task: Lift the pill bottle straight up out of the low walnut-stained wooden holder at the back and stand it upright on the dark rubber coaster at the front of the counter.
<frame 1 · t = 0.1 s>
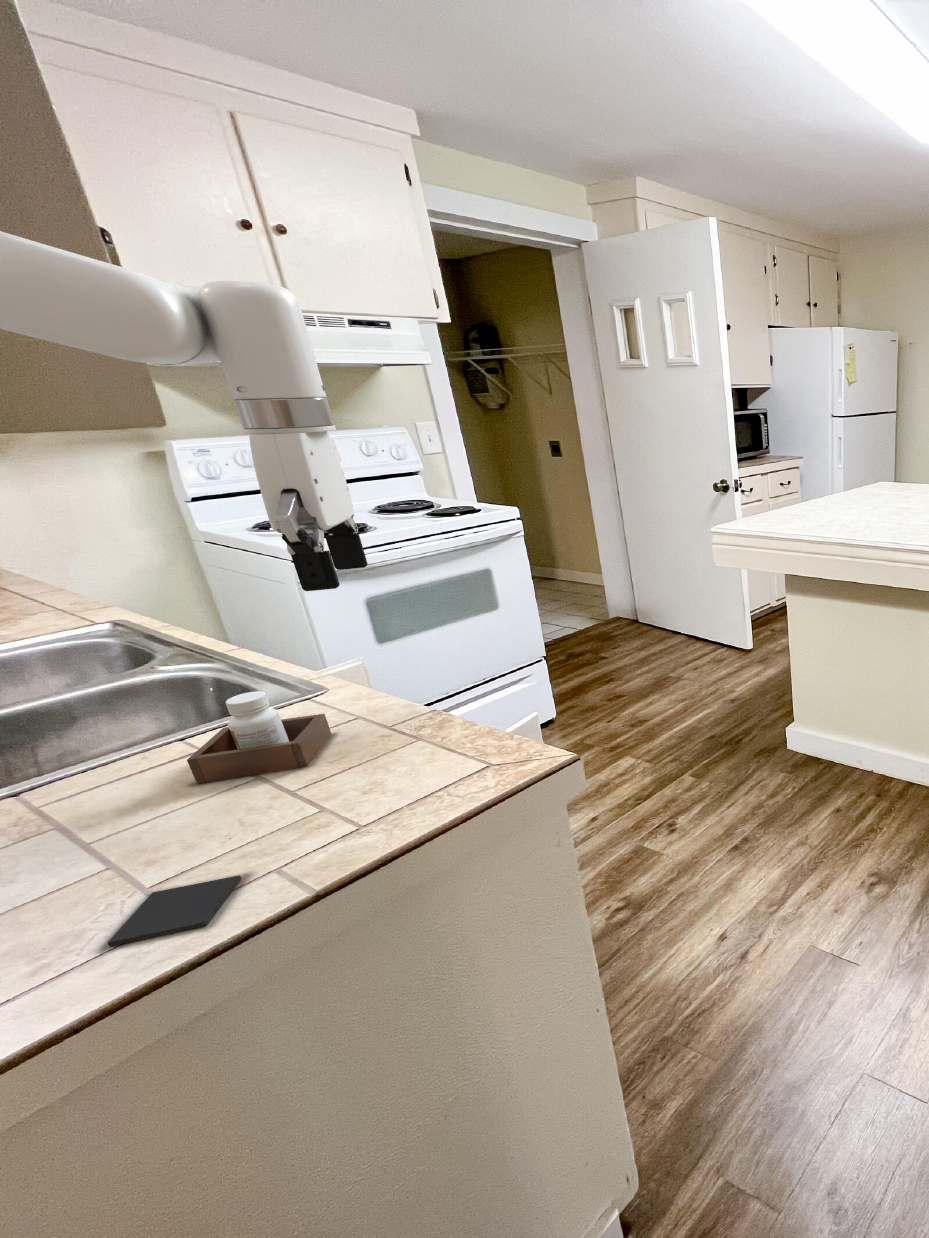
hand: (337, 578, 77), 20 cm above the counter, tool pointing down, fingers open, 9 cm apart
coaster: (179, 910, 56), on the counter
pill bottle: (269, 759, 79), resting in holder
holder: (268, 757, 79), on the counter
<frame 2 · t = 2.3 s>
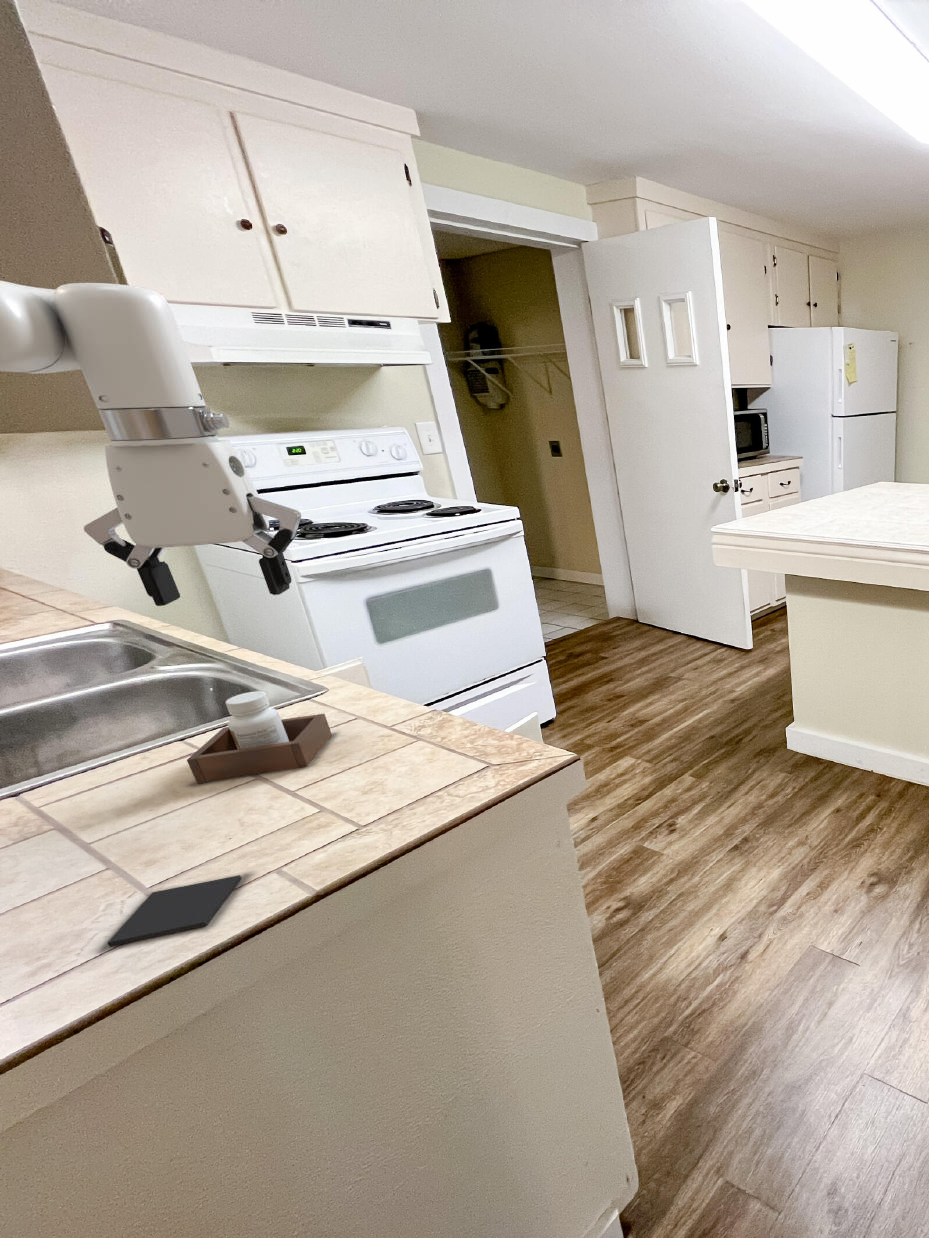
hand: (226, 596, 73), 19 cm above the counter, tool pointing down, fingers open, 9 cm apart
nothing on the counter moved.
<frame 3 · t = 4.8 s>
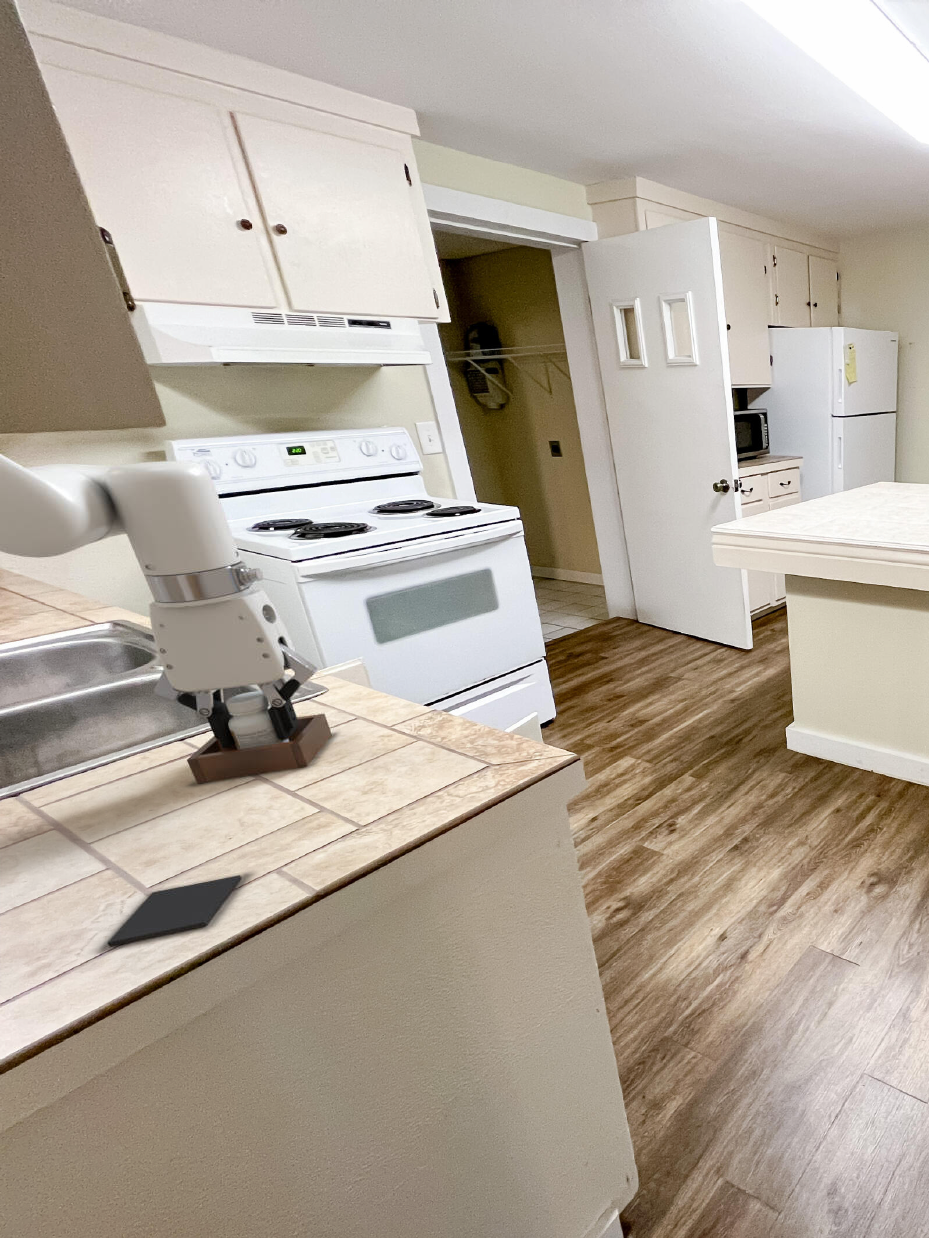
hand: (260, 737, 78), 3 cm above the counter, tool pointing down, fingers closed on pill bottle, 4 cm apart
pill bottle: (269, 759, 79), resting in holder, touching gripper
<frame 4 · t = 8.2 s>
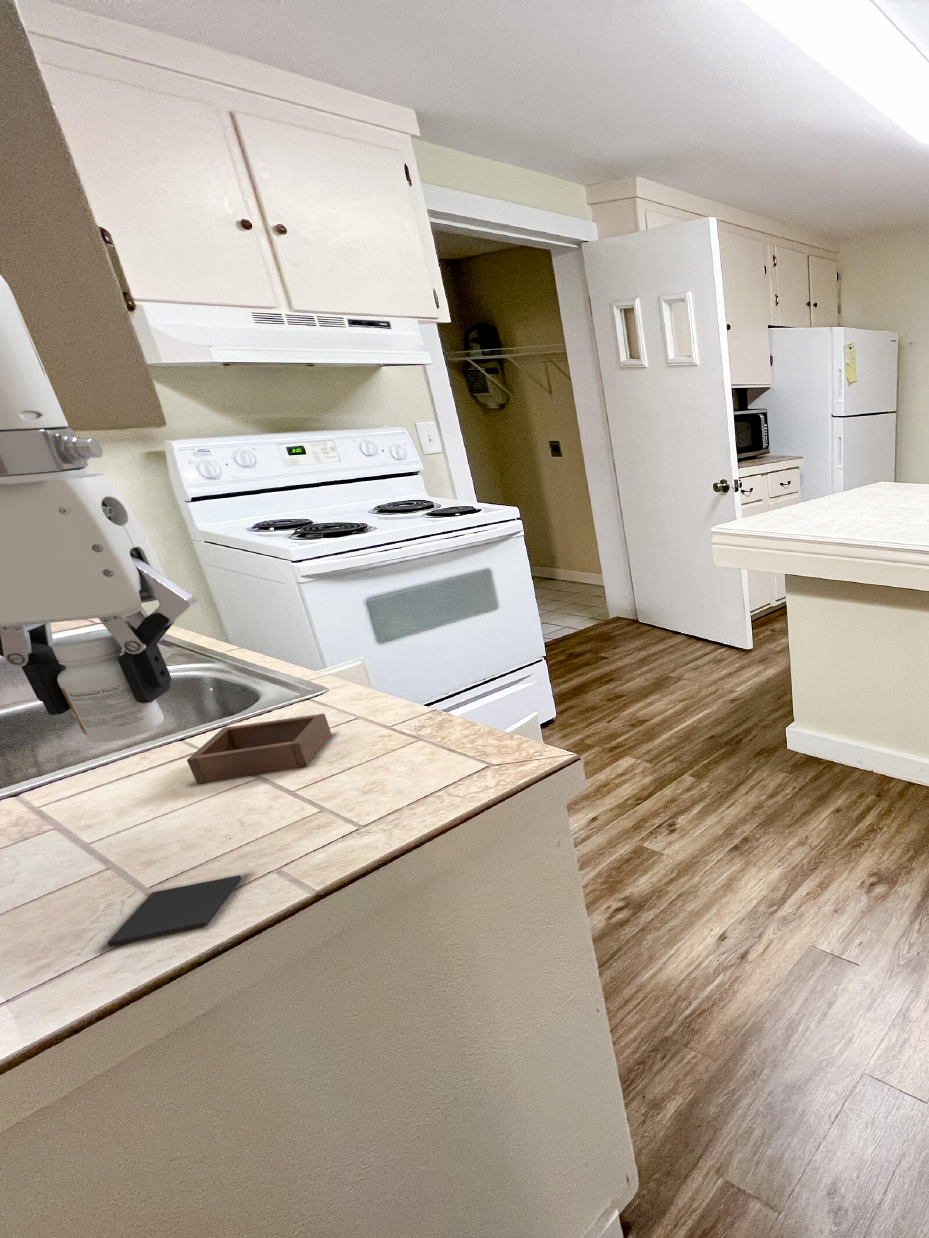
hand: (112, 699, 53), 17 cm above the counter, tool pointing down, fingers closed on pill bottle, 4 cm apart
pill bottle: (128, 732, 54), point 14 cm above the counter, touching gripper
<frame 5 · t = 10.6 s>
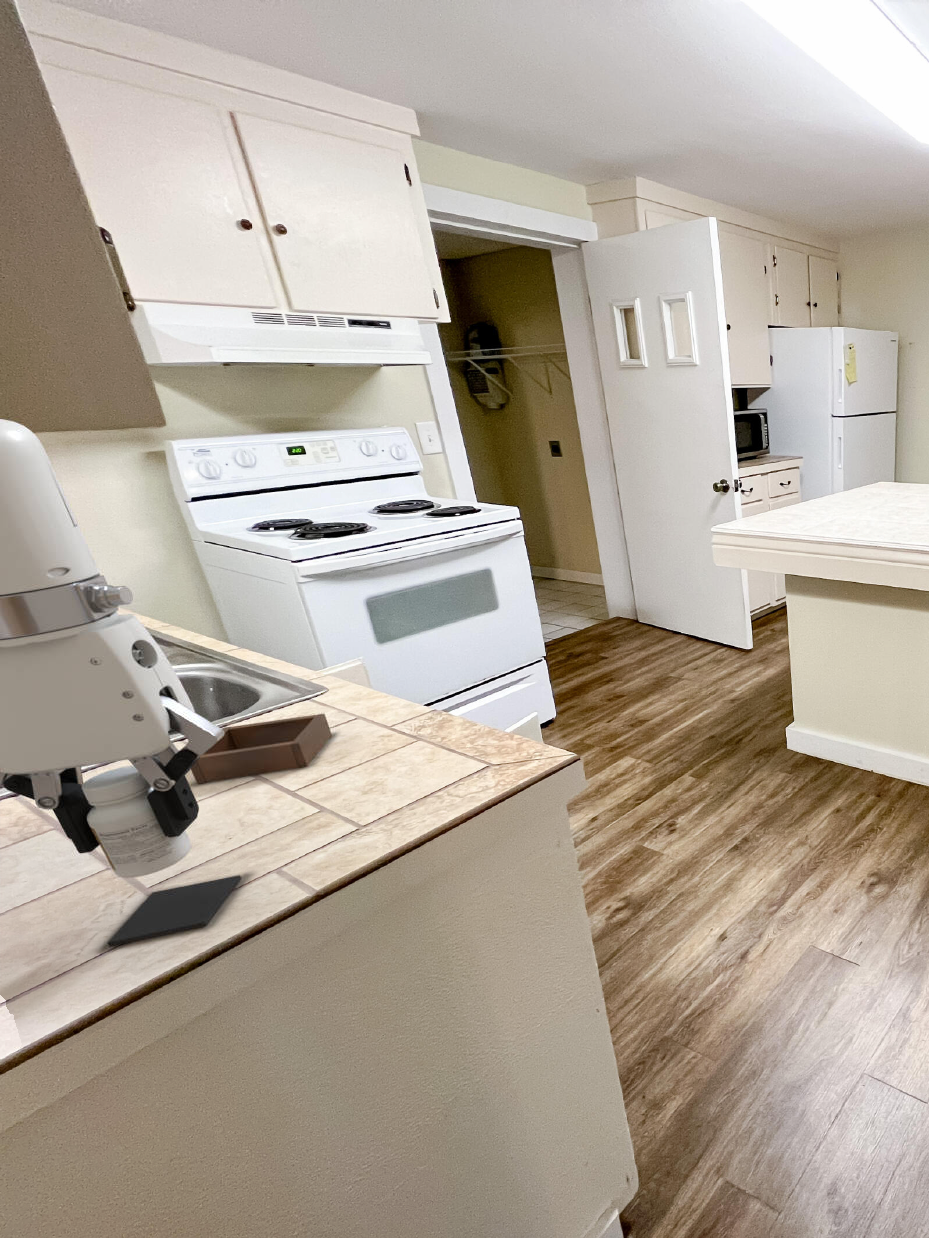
hand: (140, 832, 53), 8 cm above the counter, tool pointing down, fingers closed on pill bottle, 4 cm apart
pill bottle: (156, 863, 54), point 5 cm above the counter, touching gripper
when the fingers open (3 cm above the counter, at t = 12.0 s): pill bottle stays where it is, resting on coaster.
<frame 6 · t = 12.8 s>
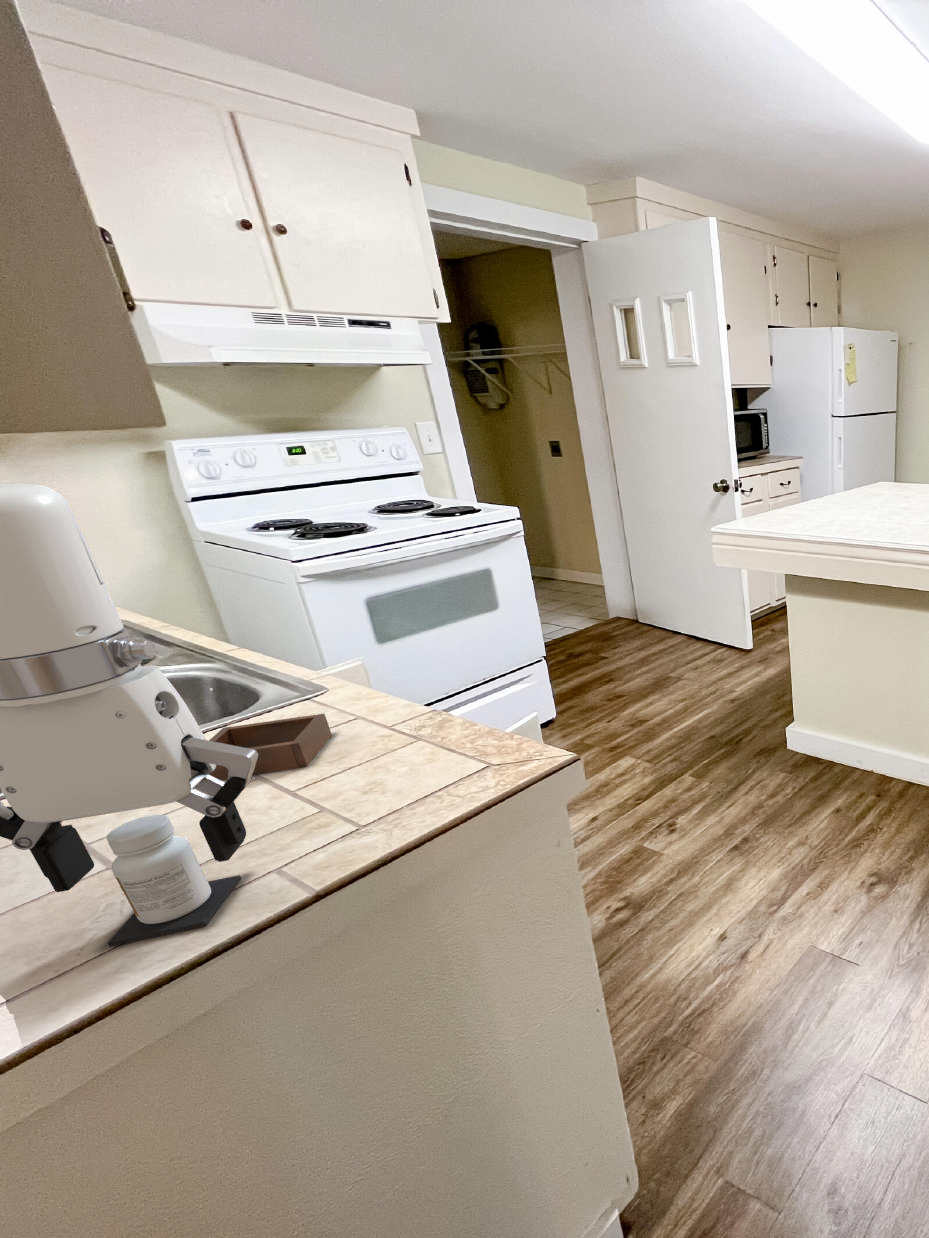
hand: (156, 865, 54), 5 cm above the counter, tool pointing down, fingers open, 9 cm apart
pill bottle: (177, 908, 56), resting on coaster
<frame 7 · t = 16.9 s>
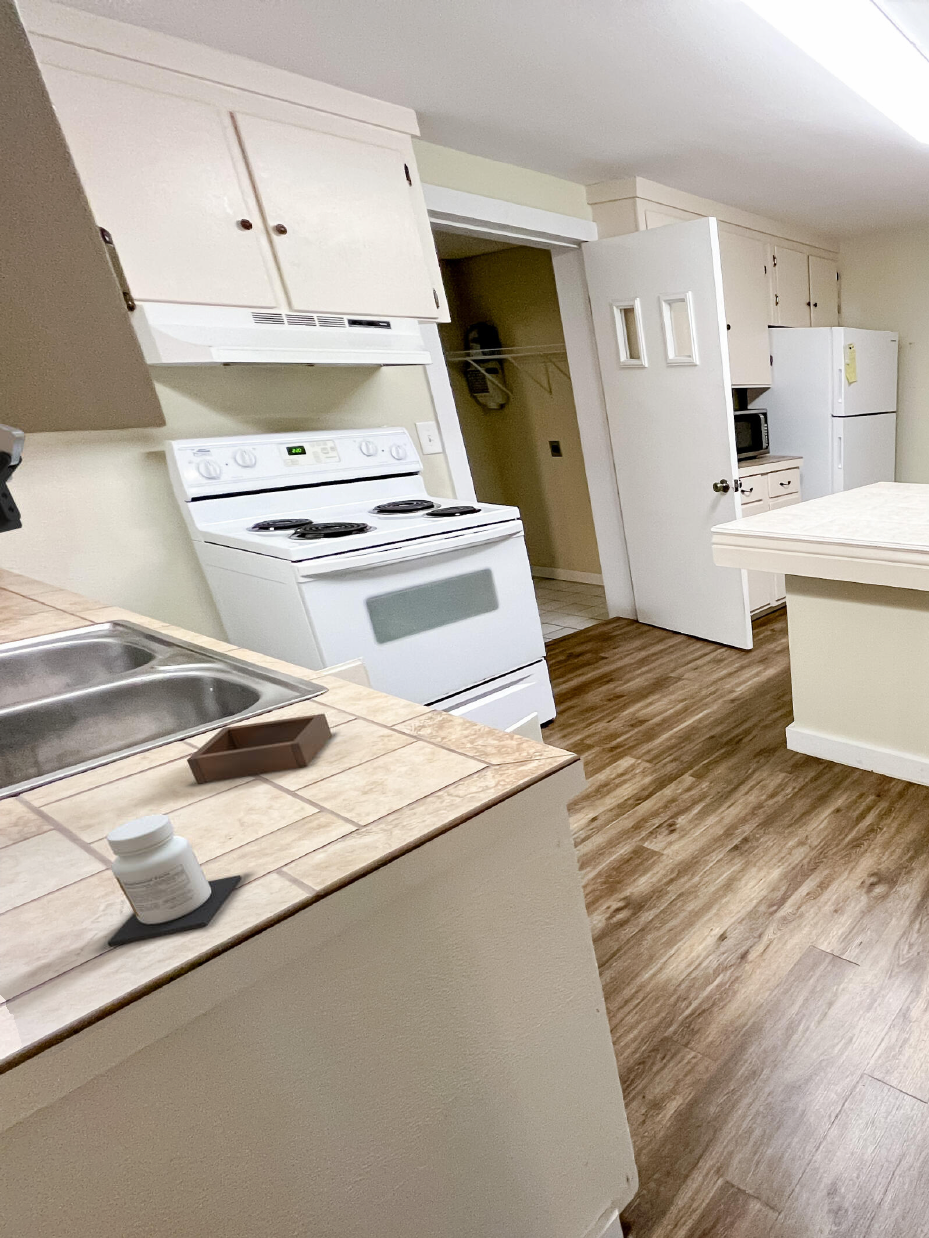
nothing on the counter moved.
at the end: pill bottle 0.1 cm off-centre on the coaster, point 0.2 cm above the coaster's base; pill bottle tilted 0°; the gripper is holding nothing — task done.
